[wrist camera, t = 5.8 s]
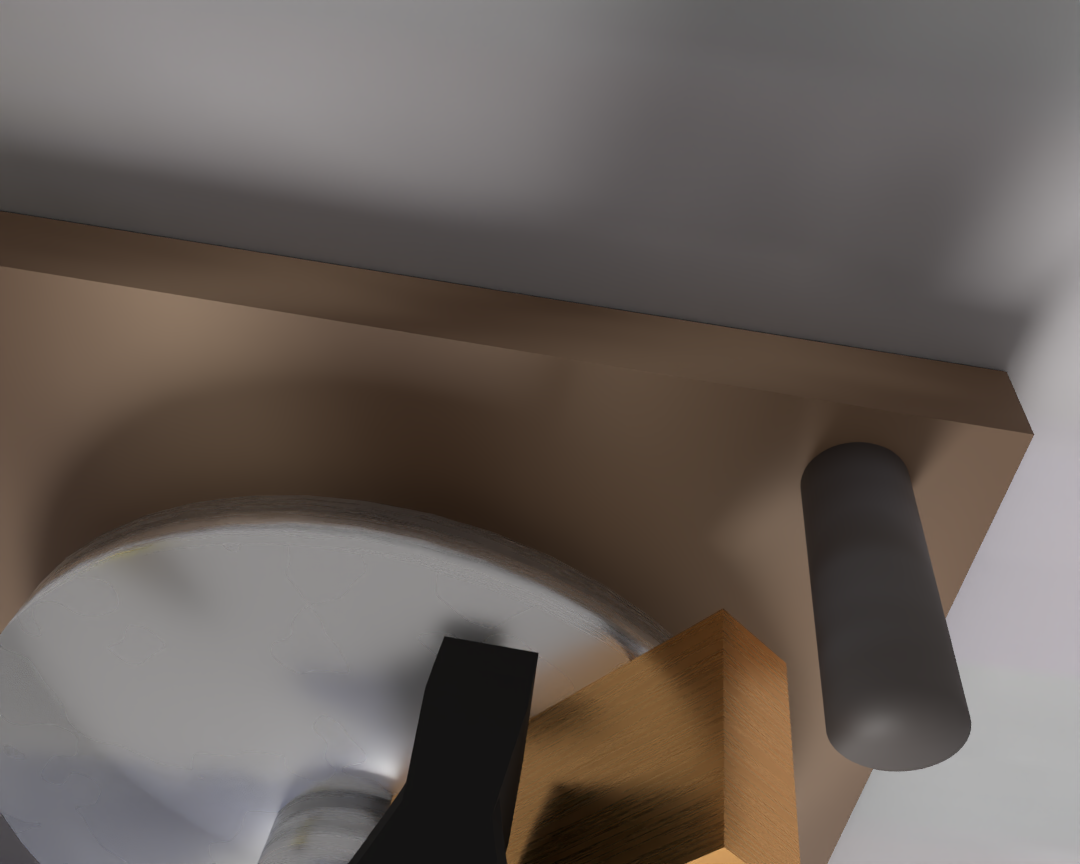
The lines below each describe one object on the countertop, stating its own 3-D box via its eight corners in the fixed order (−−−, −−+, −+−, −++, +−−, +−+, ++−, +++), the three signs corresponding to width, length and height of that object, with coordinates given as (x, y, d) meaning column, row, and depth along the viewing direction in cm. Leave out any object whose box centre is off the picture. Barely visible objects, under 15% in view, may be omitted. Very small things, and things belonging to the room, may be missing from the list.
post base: (87, 848, 25) (-51, 1096, 20) (-101, 195, 15) (-454, 400, 10) (739, 977, 24) (743, 1266, 19) (1006, 372, 14) (1142, 681, 9)
